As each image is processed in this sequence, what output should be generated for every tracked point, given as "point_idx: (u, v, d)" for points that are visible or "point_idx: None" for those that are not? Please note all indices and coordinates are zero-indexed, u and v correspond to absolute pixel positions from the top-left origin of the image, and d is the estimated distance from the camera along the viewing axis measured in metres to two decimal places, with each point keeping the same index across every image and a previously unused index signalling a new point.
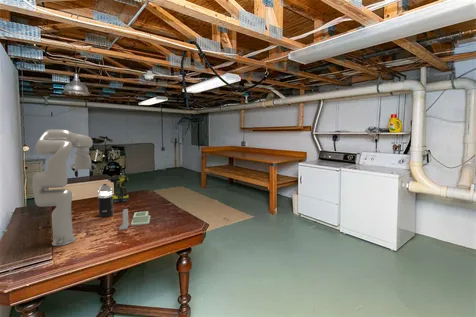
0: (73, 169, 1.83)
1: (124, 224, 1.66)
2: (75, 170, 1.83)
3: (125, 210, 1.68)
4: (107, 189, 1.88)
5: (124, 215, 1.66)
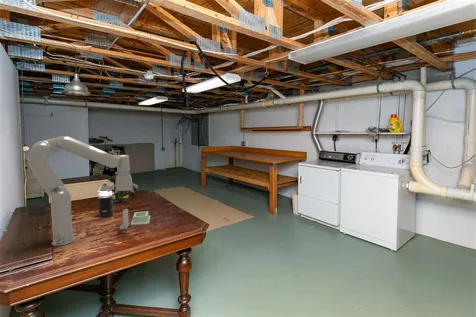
0: (113, 190, 1.64)
1: (124, 224, 1.66)
2: (115, 192, 1.64)
3: (125, 210, 1.68)
4: (107, 189, 1.88)
5: (124, 215, 1.66)
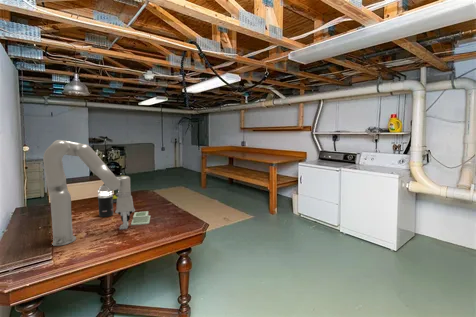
0: (120, 213, 1.67)
1: (124, 224, 1.66)
2: (121, 214, 1.67)
3: None
4: (107, 189, 1.88)
5: (124, 215, 1.66)
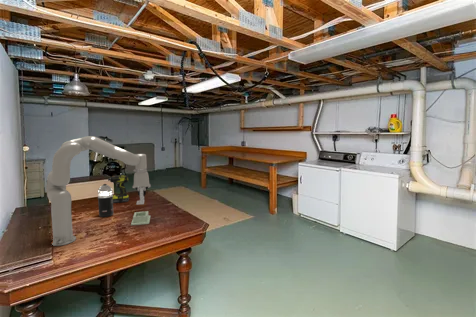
0: (136, 188, 1.78)
1: (141, 199, 1.78)
2: (138, 189, 1.78)
3: (141, 187, 1.80)
4: (107, 189, 1.88)
5: (141, 191, 1.77)
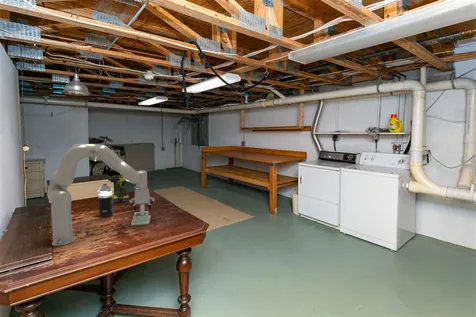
0: (132, 203, 1.79)
1: None
2: (134, 204, 1.79)
3: None
4: (107, 189, 1.88)
5: (141, 208, 1.79)
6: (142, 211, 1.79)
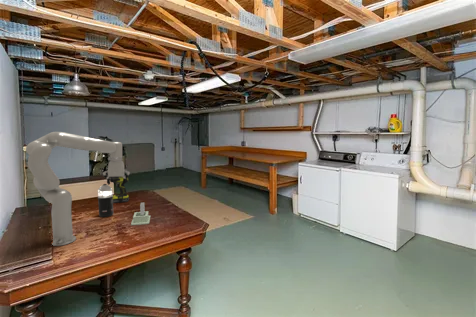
0: (105, 176, 1.69)
1: None
2: (108, 177, 1.69)
3: (142, 203, 1.81)
4: (107, 189, 1.88)
5: (141, 208, 1.79)
6: (142, 211, 1.79)
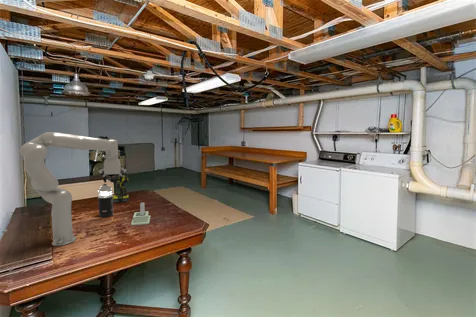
0: (102, 174, 1.68)
1: None
2: (104, 175, 1.68)
3: (142, 203, 1.81)
4: (107, 189, 1.88)
5: (141, 208, 1.79)
6: (142, 211, 1.79)
